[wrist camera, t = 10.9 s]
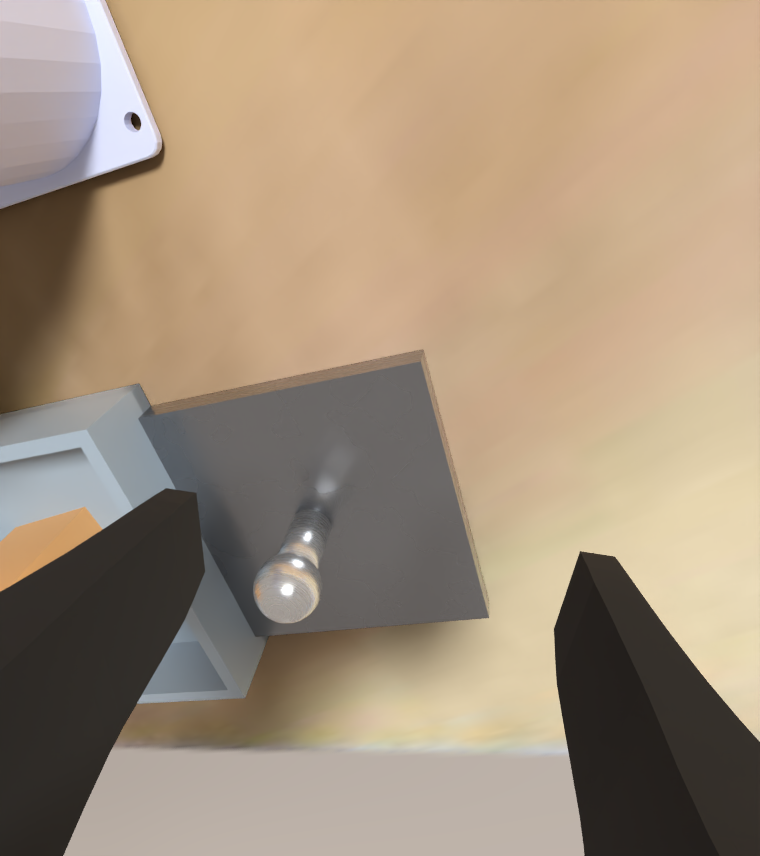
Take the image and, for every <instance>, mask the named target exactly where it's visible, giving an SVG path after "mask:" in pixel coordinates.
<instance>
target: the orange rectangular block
mask: <svg viewBox="0 0 760 856" xmlns="http://www.w3.org/2000/svg"><path fill="white" fill-rule="evenodd" d="M101 530H103V529H102V528H101V527H100V525H99V524H98V523H97V521H96V520H95V519H94V518H93V516H92V515H91V514H90V512H89V511H88V510H87V509H86V507H82V508H79V509H75V510H72V511H69V512H65V513H62V514H59V515H55V516H52V517H49V518H45V519H42V520H38V521H35V522H32V523H28V524H25V525H22V526H18V527H15V528H14V529H13V530H12V531H11V532H10V533H9V534H8V535H7V536H6V537H5V538H4V539H3V540H2V541H1V542H0V591H2V590H4V589H6V588H8V587H10V586H11V585H13V584H15V583H16V582H18V581H20V580H21V579H23V578H25V577H26V576H28V575H30V574H32V573H33V572H35V571H37V570H38V569H40V568H42V567H43V566H45V565H47V564H48V563H50V562H52V561H53V560H55V559H57V558H59V557H60V556H62V555H64V554H65V553H67V552H68V551H70V550H72V549H73V548H75V547H76V546H78V545H79V544H81V543H82V542H84V541H86V540H87V539H89V538H90V537H92V536H93V535H95V534H96V533H98V532H99V531H101Z"/></svg>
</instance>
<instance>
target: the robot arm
mask: <svg viewBox="0 0 760 856" xmlns="http://www.w3.org/2000/svg"><path fill="white" fill-rule="evenodd" d="M133 113H135V114H137V115H138V116H139V118H140V120H141V128H140V130H139V131H138V130H136V129H135V128H134V127H133V125H132V122H131V116H132V114H133ZM161 148H162V139H161V135H160V132H159V130H158V128H157V125H156V123H155V120H154V118H153V115H152V113H151V110H150V108H149V106H148V103H147V101H146V98H145V96H144V93H143V91H142V89H141V86H140V84H139V81H138V79H137V76H136V74H135V72H134V69H133V67H132V64H131V62H130V59H129V57H128V55H127V52H126V50H125V47H124V45H123V42H122V40H121V38H120V35H119V33H118V30H117V28H116V25H115V23H114V21H113V18H112V16H111V13H110V11H109V8H108V6H107V3H106V1H105V0H0V209H2V208H5V207H8V206H11V205H14V204H17V203H20V202H23V201H26V200H29V199H31V198H34V197H37V196H40V195H43V194H46V193H49V192H52V191H55V190H58V189H61V188H64V187H67V186H70V185H73V184H76V183H79V182H82V181H85V180H88V179H91V178H94V177H96V176H99V175H102V174H105V173H108V172H111V171H114V170H117V169H120V168H123V167H126V166H129V165H132V164H135V163H138V162H141V161H144V160H147V159H150V158H153V157H155V156H156V155H158V154H159V152H160V150H161ZM204 573H205V564H204V556H203V547H202V538H201V529H200V520H199V511H198V502H197V493H195V492H188V491H182V490H175V489H169V488H166V489H164V490H162V491H161V492H159V493H157V494H156V495H154V496H153V497H151V498H150V499H148V500H146V501H145V502H143V503H142V504H140V505H139V506H137V507H136V508H134V509H133V510H131V511H130V512H128V513H127V514H125V515H124V516H122V517H121V518H119V519H118V520H116V521H115V522H113V523H112V524H110V525H109V526H107V527H106V528H104V529H103V530H101V531H99V532H98V533H96V534H95V535H93V536H92V537H90V538H89V539H87V540H86V541H84V542H82V543H81V544H79V545H78V546H76V547H75V548H73V549H72V550H70V551H68V552H67V553H65V554H64V555H62V556H60V557H59V558H57V559H55V560H53V561H52V562H50V563H48V564H47V565H45V566H43V567H42V568H40V569H38V570H37V571H35V572H33V573H32V574H30V575H28V576H26V577H25V578H23V579H21V580H20V581H18V582H16V583H15V584H13V585H11V586H10V587H8V588H6V589H4V590H2V591H0V856H63V855H64V853H65V850H66V848H67V846H68V843H69V841H70V839H71V837H72V834H73V832H74V829H75V827H76V825H77V823H78V821H79V818H80V816H81V814H82V811H83V809H84V807H85V805H86V802H87V800H88V798H89V796H90V794H91V792H92V790H93V788H94V785H95V783H96V781H97V779H98V777H99V775H100V772H101V770H102V768H103V766H104V764H105V761H106V759H107V757H108V755H109V753H110V751H111V749H112V747H113V745H114V743H115V742H116V740H117V738H118V736H119V734H120V732H121V730H122V728H123V726H124V725H125V723H126V721H127V720H128V718H129V716H130V714H131V713H132V711H133V709H134V707H135V706H136V704H137V702H138V701H139V699H140V697H141V695H142V694H143V692H144V690H145V689H146V687H147V685H148V683H149V682H150V680H151V678H152V676H153V675H154V673H155V671H156V670H157V668H158V666H159V664H160V663H161V661H162V659H163V657H164V656H165V654H166V652H167V650H168V649H169V647H170V645H171V643H172V642H173V640H174V638H175V636H176V635H177V633H178V631H179V629H180V628H181V626H182V624H183V622H184V620H185V618H186V616H187V614H188V612H189V609H190V607H191V605H192V602H193V600H194V598H195V595H196V593H197V590H198V588H199V585H200V583H201V581H202V578H203V576H204ZM554 637H555V660H556V676H557V687H558V693H559V699H560V705H561V711H562V717H563V723H564V729H565V734H566V740H567V746H568V751H569V757H570V763H571V768H572V774H573V780H574V786H575V791H576V797H577V803H578V808H579V814H580V821H581V828H582V836H583V843H584V853H585V856H760V742H759V741H758V740H757V739H756V737H755V736H754V735H753V734H752V733H751V732H750V731H749V730H748V729H747V727H746V726H745V725H744V724H743V723H742V722H741V721H740V720H739V718H738V717H737V716H736V715H735V714H734V712H733V711H732V710H731V709H730V708H729V707H728V705H727V704H726V703H725V702H724V701H723V699H722V698H721V697H720V696H719V695H718V694H717V692H716V691H715V690H714V689H713V688H712V686H711V685H710V684H709V683H708V682H707V680H706V679H705V678H704V677H703V675H702V674H701V673H700V672H699V670H698V669H697V668H696V667H695V665H694V664H693V663H692V661H691V660H690V659H689V657H688V656H687V655H686V654H685V652H684V651H683V650H682V648H681V647H680V646H679V644H678V643H677V642H676V641H675V639H674V638H673V637H672V635H671V634H670V633H669V631H668V630H667V629H666V627H665V626H664V624H663V623H662V622H661V620H660V619H659V618H658V616H657V615H656V613H655V612H654V611H653V609H652V608H651V607H650V605H649V604H648V602H647V601H646V600H645V598H644V597H643V595H642V594H641V593H640V591H639V590H638V588H637V587H636V585H635V584H634V583H633V581H632V580H631V578H630V577H629V576H628V574H627V573H626V571H625V570H624V569H623V567H622V566H621V564H620V563H619V562H618V560H617V559H616V558H615V557H613V556H607V555H600V554H594V553H587V552H581V551H580V554H579V556H578V559H577V562H576V565H575V568H574V571H573V574H572V577H571V580H570V583H569V586H568V589H567V592H566V595H565V598H564V601H563V604H562V607H561V610H560V613H559V616H558V619H557V622H556V625H555V628H554Z"/></svg>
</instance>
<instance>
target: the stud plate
mask: <svg viewBox="0 0 760 856" xmlns="http://www.w3.org/2000/svg"><path fill="white" fill-rule="evenodd" d="M138 420H139V421H140V423H141V425H142V427H143V429H144V431H145V433H146V434H147V436H148V438H149V440H150V442H151V444H152V446H153V447H154V449H155V451H156V453H157V455H158V457H159V459H160V460H161V462H162V464H163V466H164V468H165V470H166V472H167V473H168V475H169V477H170V479H171V481H172V483H173V485H174V486H175V488H176V490H182V491H188V492H195V493H197V502H198V511H199V520H200V529H201V537H202V538H203V540H204V542H205V544H206V546H207V548H208V550H209V551H210V553H211V555H212V557H213V559H214V561H215V563H216V564H217V566H218V568H219V570H220V572H221V574H222V576H223V577H224V579H225V581H226V583H227V585H228V587H229V589H230V590H231V592H232V594H233V596H234V598H235V600H236V602H237V603H238V605H239V607H240V609H241V611H242V613H243V615H244V616H245V618H246V620H247V622H248V624H249V626H250V628H251V630H252V631H253V633H254V635H255V637H260V636H272V635H284V634H297V633H309V632H321V631H334V630H346V629H358V628H370V627H383V626H395V625H407V624H419V623H432V622H444V621H456V620H469V619H481V618H489V599H488V595H487V591H486V588H485V584H484V580H483V576H482V572H481V568H480V565H479V561H478V557H477V553H476V549H475V545H474V542H473V538H472V534H471V530H470V526H469V522H468V519H467V515H466V511H465V507H464V503H463V500H462V496H461V492H460V488H459V484H458V480H457V477H456V473H455V469H454V465H453V461H452V457H451V454H450V450H449V446H448V442H447V438H446V435H445V431H444V427H443V423H442V419H441V415H440V412H439V408H438V404H437V400H436V396H435V392H434V389H433V385H432V381H431V377H430V373H429V369H428V366H427V362H426V358H425V354H424V350H419V351H414V352H409V353H404V354H399V355H395V356H390V357H385V358H380V359H375V360H371V361H366V362H361V363H356V364H351V365H346V366H342V367H337V368H332V369H327V370H322V371H318V372H313V373H308V374H303V375H298V376H293V377H289V378H284V379H279V380H274V381H269V382H265V383H260V384H255V385H250V386H245V387H241V388H236V389H231V390H226V391H221V392H216V393H212V394H207V395H202V396H197V397H192V398H188V399H183V400H178V401H173V402H168V403H163V404H159V405H154V406H150V407H149V408H148V409H147V410H146V411H145V412H144V413H143V414H142V415H141V416H140V417H139V418H138Z"/></svg>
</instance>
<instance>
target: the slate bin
mask: <svg viewBox="0 0 760 856" xmlns="http://www.w3.org/2000/svg"><path fill="white" fill-rule="evenodd" d="M149 407H150V404H149V402H148V400H147V398H146V396H145V394H144V392H143V390H142V388H141V386H140V385H139V384H135V385H130V386H126V387H121V388H117V389H112V390H108V391H103V392H99V393H94V394H90V395H85V396H80V397H76V398H71V399H67V400H62V401H58V402H53V403H49V404H44V405H40V406H35V407H31V408H26V409H22V410H17V411H13V412H8V413H4V414H0V542H1V541H2V540H3V539H4V538H5V537H6V536H7V535H8V534H9V533H10V532H11V531H12V530H13V529H14V528H15V527H18V526H22V525H25V524H28V523H32V522H35V521H38V520H42V519H45V518H49V517H52V516H55V515H59V514H62V513H65V512H69V511H72V510H75V509H79V508H82V507H86V509H87V510H88V511H89V512H90V514H91V515H92V516H93V518H94V519H95V520H96V521H97V523H98V524H99V525H100V527H101V528H102V529H104V528H106V527H107V526H109V525H110V524H112V523H113V522H115V521H116V520H118V519H119V518H121V517H122V516H124V515H125V514H127V513H128V512H130V511H131V510H133V509H134V508H136V507H137V506H139V505H140V504H142V503H143V502H145V501H146V500H148V499H150V498H151V497H153V496H154V495H156V494H157V493H159V492H161V491H162V490H164V489H166V488H169V489H175V490H176V488H175V486H174V485H173V483H172V481H171V479H170V477H169V475H168V473H167V472H166V470H165V468H164V466H163V464H162V462H161V460H160V459H159V457H158V455H157V453H156V451H155V449H154V447H153V446H152V444H151V442H150V440H149V438H148V436H147V434H146V433H145V431H144V429H143V427H142V425H141V423H140V421H139V420H138V418H139V417H140V416H141V415H142V414H143V413H144V412H145V411H146V410H147V409H148V408H149ZM201 538H202V537H201ZM202 547H203V556H204V564H205V573H204V576H203V578H202V581H201V583H200V585H199V588H198V590H197V593H196V595H195V598H194V600H193V602H192V605H191V607H190V609H189V612H188V614H187V616H186V618H185V620H184V622H183V624H182V626H181V628H180V629H179V631H178V633H177V635H176V636H175V638H174V640H173V642H172V643H171V645H170V647H169V649H168V650H167V652H166V654H165V656H164V657H163V659H162V661H161V663H160V664H159V666H158V668H157V670H156V671H155V673H154V675H153V676H152V678H151V680H150V682H149V683H148V685H147V687H146V689H145V690H144V692H143V694H142V695H141V697H140V699H139V701H138V702H137V704H141V703H160V702H180V701H199V700H219V699H238V698H245V697H246V695H247V692H248V690H249V687H250V684H251V682H252V679H253V677H254V674H255V671H256V669H257V666H258V663H259V661H260V658H261V656H262V653H263V650H264V648H265V645H266V642H267V640H268V637H269V636H260V637H255V635H254V633H253V631H252V630H251V628H250V626H249V624H248V622H247V620H246V618H245V616H244V615H243V613H242V611H241V609H240V607H239V605H238V603H237V602H236V600H235V598H234V596H233V594H232V592H231V590H230V589H229V587H228V585H227V583H226V581H225V579H224V577H223V576H222V574H221V572H220V570H219V568H218V566H217V564H216V563H215V561H214V559H213V557H212V555H211V553H210V551H209V550H208V548H207V546H206V544H205V542H204V540H203V538H202Z"/></svg>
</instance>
